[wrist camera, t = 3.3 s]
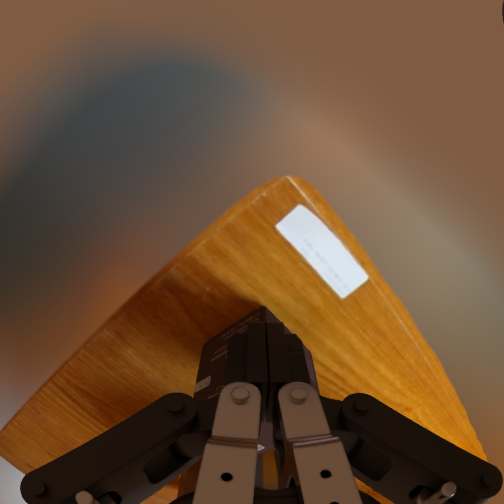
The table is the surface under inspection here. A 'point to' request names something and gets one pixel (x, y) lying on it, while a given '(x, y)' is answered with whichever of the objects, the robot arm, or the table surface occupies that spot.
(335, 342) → the table surface
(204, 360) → the box
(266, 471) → the pot
